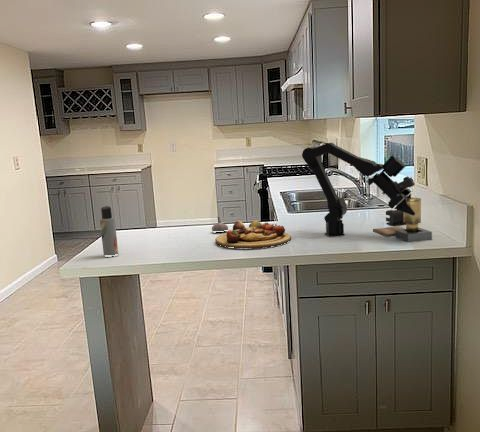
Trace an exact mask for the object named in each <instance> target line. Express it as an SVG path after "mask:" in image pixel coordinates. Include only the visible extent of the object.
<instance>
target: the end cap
mask: <svg viewBox="0 0 480 432" xmlns="http://www.w3.org/2000/svg"><path fill="white" fill-rule="evenodd" d="M385 215H386V216H389V217H385V222H386V225H387V226H388V225H390V226H398V225H405V224H406V223H404V212H402V211H400V210H397V209H394V210H393V209H389V210H386V211H385Z"/></svg>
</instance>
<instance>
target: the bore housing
mask: <svg viewBox="0 0 480 432" xmlns="http://www.w3.org/2000/svg"><path fill="white" fill-rule="evenodd" d="M394 237H395V238H398V240H399V239H400V240H402V241H403V242H407V243H413V242H419V241H420V242H421V241H430V240H433V232H432V231H430V230H428V229H425V228H421V227H419V226H418V231H407V230H406V228H405V229H397V230H395V236H394Z"/></svg>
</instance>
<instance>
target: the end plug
mask: <svg viewBox="0 0 480 432" xmlns="http://www.w3.org/2000/svg"><path fill="white" fill-rule="evenodd" d="M404 199H405V198H404ZM407 203H408V204H409V206H410V207H411V208H412V210H413V211H414V212H415V215H414V216H413V215H410V214H408V213H405V212H404V223H405V224H406V226H405V229H406V230H407V231H418V227H419V224H421V223H422V217H421V216H422V198H421V197H411V198H407Z"/></svg>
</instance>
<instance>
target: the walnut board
mask: <svg viewBox="0 0 480 432" xmlns="http://www.w3.org/2000/svg"><path fill="white" fill-rule="evenodd" d="M397 229H406V227H405V228H404V227H402V226H398V225H395V226H390V227H389V226H387V227H379V228H372V232H374V233H376V234H379V235H381V236H383V237H385V238H386V237H395V230H397Z"/></svg>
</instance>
